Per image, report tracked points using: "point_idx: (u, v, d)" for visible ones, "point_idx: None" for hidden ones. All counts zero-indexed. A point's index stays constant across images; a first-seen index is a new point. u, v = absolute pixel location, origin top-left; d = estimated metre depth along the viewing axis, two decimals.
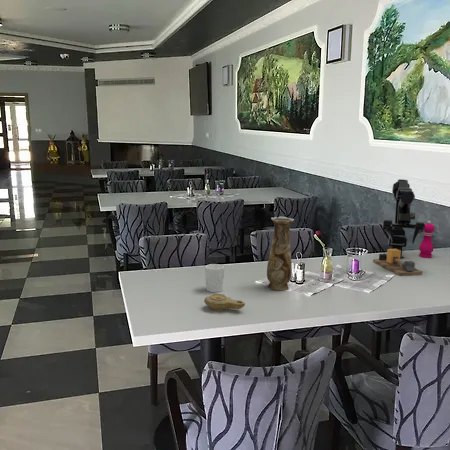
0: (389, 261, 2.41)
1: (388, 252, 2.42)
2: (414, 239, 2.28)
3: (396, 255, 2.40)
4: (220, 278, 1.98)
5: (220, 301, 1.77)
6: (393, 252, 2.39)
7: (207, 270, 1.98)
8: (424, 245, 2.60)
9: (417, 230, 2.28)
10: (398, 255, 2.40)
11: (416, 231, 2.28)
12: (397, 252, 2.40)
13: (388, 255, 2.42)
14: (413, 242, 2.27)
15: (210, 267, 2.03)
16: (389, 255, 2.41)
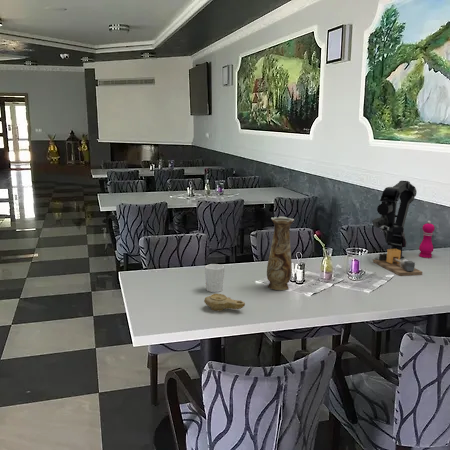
0: (389, 261, 2.41)
1: (388, 252, 2.42)
2: (386, 239, 2.47)
3: (396, 255, 2.40)
4: (220, 278, 1.98)
5: (220, 301, 1.77)
6: (393, 252, 2.39)
7: (207, 270, 1.98)
8: (424, 245, 2.60)
9: (386, 232, 2.44)
10: (398, 255, 2.40)
11: (386, 232, 2.45)
12: (397, 252, 2.40)
13: (388, 255, 2.42)
14: (386, 242, 2.47)
15: (210, 267, 2.03)
16: (389, 255, 2.41)
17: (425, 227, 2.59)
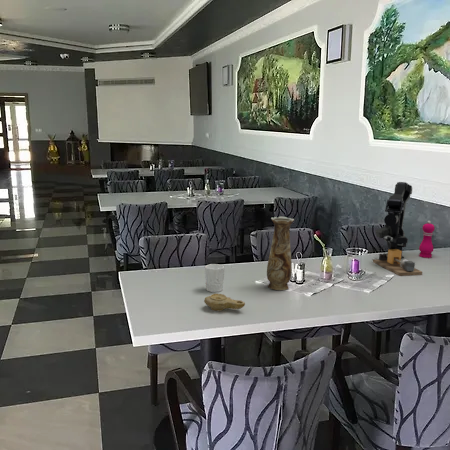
0: (390, 261, 2.41)
1: (389, 252, 2.41)
2: None
3: (397, 255, 2.39)
4: (220, 278, 1.98)
5: (220, 301, 1.77)
6: (394, 252, 2.39)
7: (207, 270, 1.98)
8: (424, 245, 2.60)
9: (389, 242, 2.41)
10: (399, 255, 2.40)
11: (389, 243, 2.42)
12: (398, 252, 2.39)
13: (389, 255, 2.41)
14: None
15: (210, 267, 2.03)
16: (390, 255, 2.40)
17: (425, 227, 2.59)
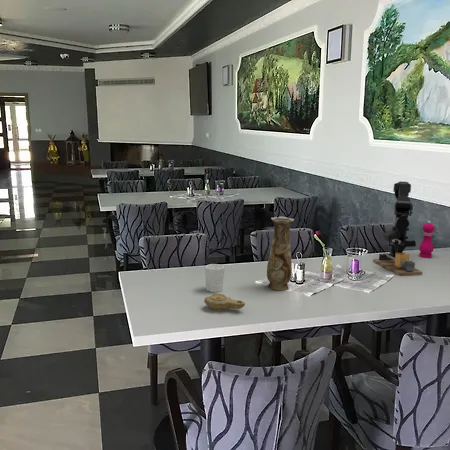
0: (397, 265, 2.34)
1: (396, 256, 2.35)
2: None
3: None
4: (220, 278, 1.98)
5: (220, 301, 1.77)
6: (402, 256, 2.32)
7: (207, 270, 1.98)
8: (424, 245, 2.60)
9: (397, 245, 2.35)
10: (407, 259, 2.33)
11: (397, 246, 2.35)
12: (406, 256, 2.33)
13: (396, 259, 2.35)
14: None
15: (210, 267, 2.03)
16: (397, 259, 2.34)
17: (425, 227, 2.59)
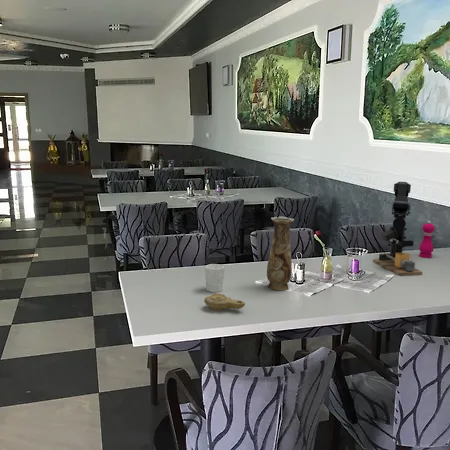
0: (397, 265, 2.34)
1: (396, 256, 2.35)
2: (395, 253, 2.39)
3: None
4: (220, 278, 1.98)
5: (220, 301, 1.77)
6: (402, 256, 2.32)
7: (207, 270, 1.98)
8: (424, 245, 2.60)
9: (395, 245, 2.37)
10: (407, 259, 2.33)
11: (395, 246, 2.38)
12: (406, 256, 2.33)
13: (396, 259, 2.35)
14: (395, 255, 2.40)
15: (210, 267, 2.03)
16: (397, 259, 2.34)
17: (425, 227, 2.59)
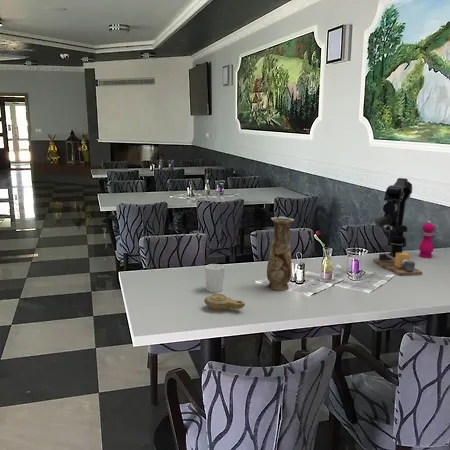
0: (397, 265, 2.34)
1: (396, 256, 2.35)
2: (389, 239, 2.41)
3: None
4: (220, 278, 1.98)
5: (220, 301, 1.77)
6: (402, 256, 2.32)
7: (207, 270, 1.98)
8: (424, 245, 2.60)
9: (389, 231, 2.39)
10: (407, 259, 2.33)
11: (389, 232, 2.39)
12: (406, 256, 2.33)
13: (396, 259, 2.35)
14: (389, 241, 2.42)
15: (210, 267, 2.03)
16: (397, 259, 2.34)
17: (425, 227, 2.59)
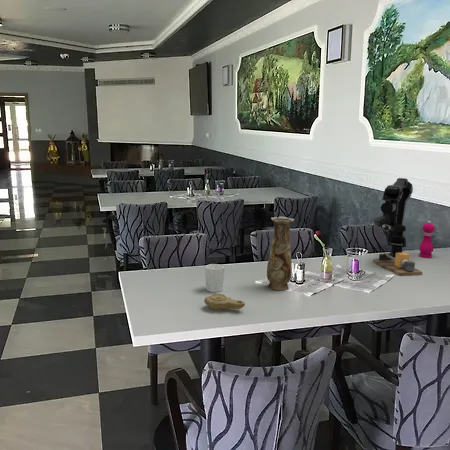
0: (397, 265, 2.34)
1: (396, 256, 2.35)
2: (388, 238, 2.41)
3: None
4: (220, 278, 1.98)
5: (220, 301, 1.77)
6: (402, 256, 2.32)
7: (207, 270, 1.98)
8: (424, 245, 2.60)
9: (387, 231, 2.39)
10: (407, 259, 2.33)
11: (387, 231, 2.40)
12: (406, 256, 2.33)
13: (396, 259, 2.35)
14: (387, 241, 2.42)
15: (210, 267, 2.03)
16: (397, 259, 2.34)
17: (425, 227, 2.59)
